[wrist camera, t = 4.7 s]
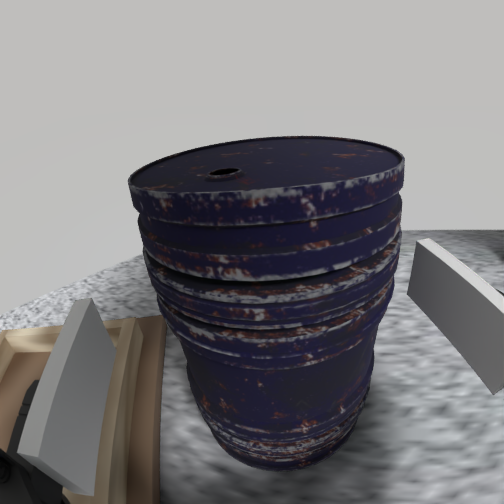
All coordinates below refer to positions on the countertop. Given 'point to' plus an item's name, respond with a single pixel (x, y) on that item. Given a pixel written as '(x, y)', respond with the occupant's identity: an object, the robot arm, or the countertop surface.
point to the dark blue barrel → (275, 283)
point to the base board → (116, 409)
